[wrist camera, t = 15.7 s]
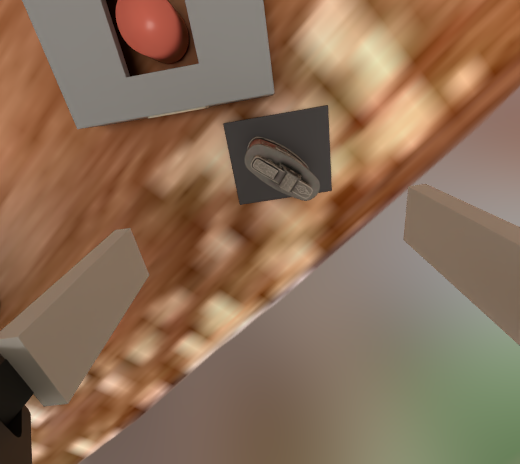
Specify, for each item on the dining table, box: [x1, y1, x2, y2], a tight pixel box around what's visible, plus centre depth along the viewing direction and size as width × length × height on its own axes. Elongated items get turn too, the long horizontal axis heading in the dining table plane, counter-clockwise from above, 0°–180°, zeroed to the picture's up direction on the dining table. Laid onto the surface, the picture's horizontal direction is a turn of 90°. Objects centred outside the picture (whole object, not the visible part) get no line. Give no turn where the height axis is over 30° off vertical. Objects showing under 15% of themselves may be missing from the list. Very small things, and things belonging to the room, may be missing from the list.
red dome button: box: [116, 0, 189, 63], centre depth 24 cm, size 5×5×5 cm
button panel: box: [22, 0, 275, 129], centre depth 25 cm, size 20×14×5 cm
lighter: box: [245, 136, 320, 201], centre depth 28 cm, size 8×3×10 cm, turn 60°
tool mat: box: [223, 105, 332, 205], centre depth 32 cm, size 12×10×1 cm
